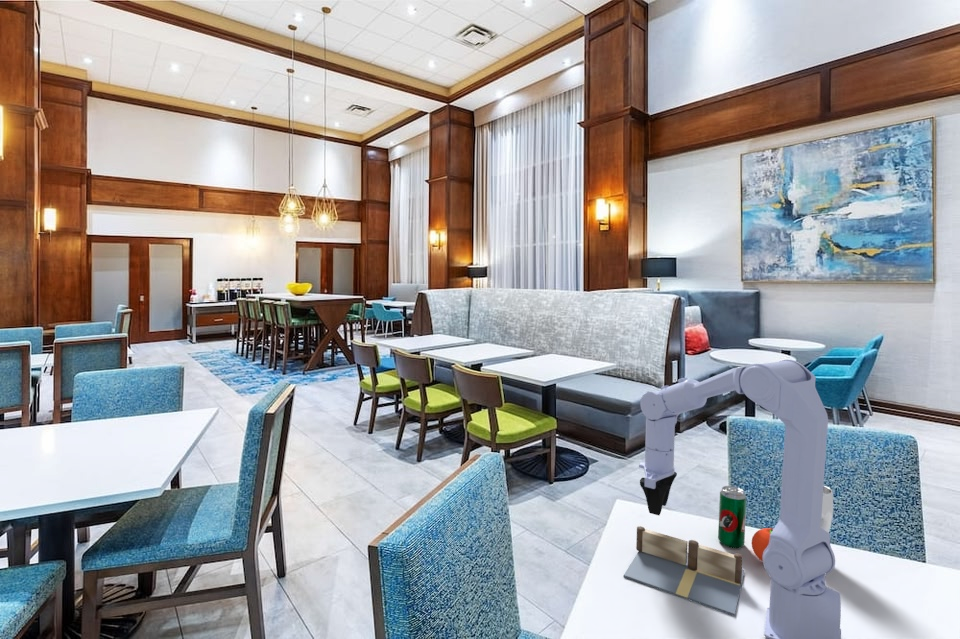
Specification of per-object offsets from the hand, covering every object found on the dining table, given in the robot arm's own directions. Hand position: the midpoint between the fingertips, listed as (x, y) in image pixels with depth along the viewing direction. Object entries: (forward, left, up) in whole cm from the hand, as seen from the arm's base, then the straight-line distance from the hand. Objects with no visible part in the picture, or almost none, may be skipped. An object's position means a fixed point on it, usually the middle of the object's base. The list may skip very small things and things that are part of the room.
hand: (657, 508), depth 101 cm
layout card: (-7, +7, -8) cm, 13 cm away
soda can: (-13, -10, -9) cm, 19 cm away
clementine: (-21, -6, -9) cm, 24 cm away
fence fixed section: (-12, +4, -8) cm, 15 cm away
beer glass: (-27, -13, -9) cm, 31 cm away
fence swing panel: (-2, +4, -8) cm, 9 cm away
